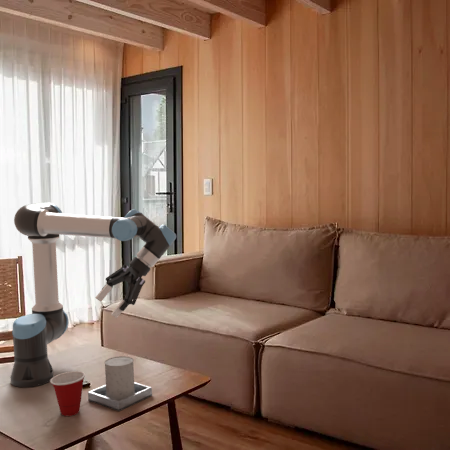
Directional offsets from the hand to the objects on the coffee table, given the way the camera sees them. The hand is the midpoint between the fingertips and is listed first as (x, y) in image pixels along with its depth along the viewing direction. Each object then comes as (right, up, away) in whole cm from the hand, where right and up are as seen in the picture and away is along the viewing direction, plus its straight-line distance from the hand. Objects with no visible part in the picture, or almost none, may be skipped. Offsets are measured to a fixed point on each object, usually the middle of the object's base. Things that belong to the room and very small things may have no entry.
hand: (105, 307), depth 205 cm
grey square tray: (+8, -29, -13) cm, 32 cm away
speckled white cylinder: (+8, -28, -13) cm, 32 cm away
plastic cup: (-7, -30, -23) cm, 39 cm away
